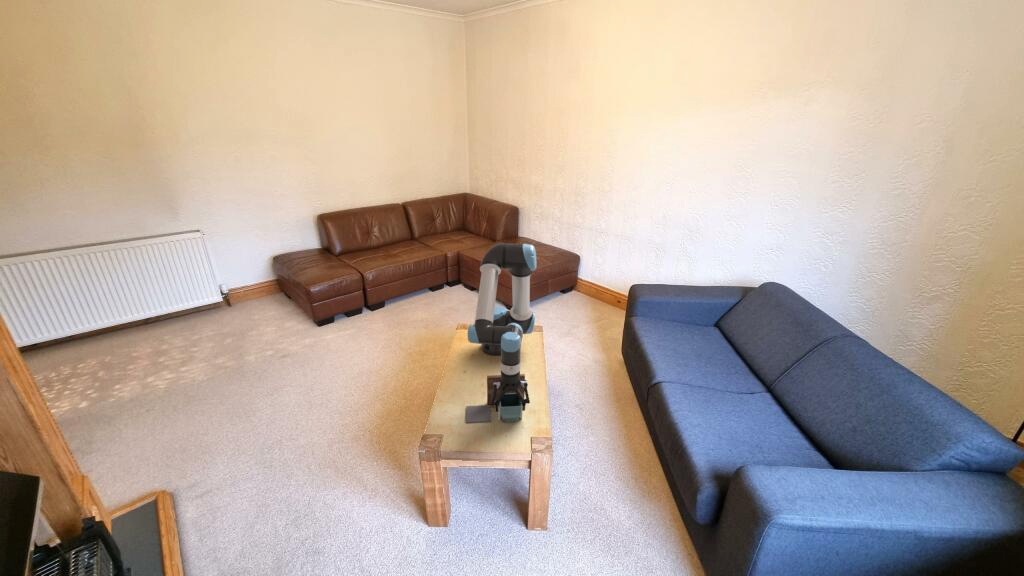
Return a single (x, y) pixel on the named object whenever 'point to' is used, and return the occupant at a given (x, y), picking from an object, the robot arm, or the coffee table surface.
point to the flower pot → (510, 407)
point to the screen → (497, 379)
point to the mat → (478, 414)
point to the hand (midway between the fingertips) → (510, 416)
